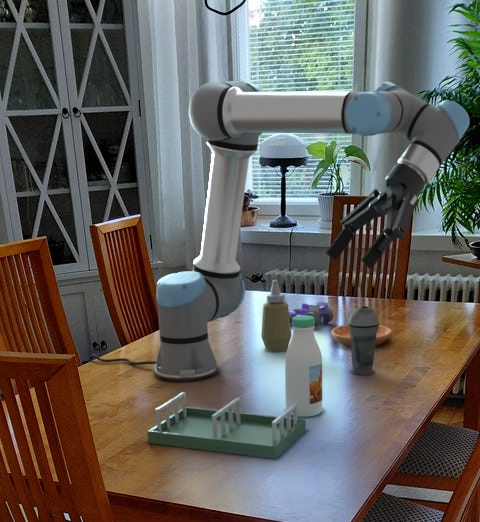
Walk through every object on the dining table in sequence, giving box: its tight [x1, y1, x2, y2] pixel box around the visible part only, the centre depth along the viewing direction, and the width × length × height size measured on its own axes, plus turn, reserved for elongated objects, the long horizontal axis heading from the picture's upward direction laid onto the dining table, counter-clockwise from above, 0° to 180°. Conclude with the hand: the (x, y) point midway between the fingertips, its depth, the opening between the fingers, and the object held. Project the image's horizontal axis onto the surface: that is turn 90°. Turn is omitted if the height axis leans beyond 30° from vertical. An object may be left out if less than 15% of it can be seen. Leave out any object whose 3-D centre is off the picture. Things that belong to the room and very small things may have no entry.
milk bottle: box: [284, 315, 323, 418], centre depth 180 cm, size 8×8×20 cm
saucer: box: [331, 323, 392, 347], centre depth 234 cm, size 16×16×3 cm
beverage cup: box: [347, 286, 380, 376], centre depth 204 cm, size 7×7×20 cm
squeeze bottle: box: [260, 279, 293, 352], centre depth 227 cm, size 8×8×18 cm
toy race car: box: [289, 301, 334, 330], centre depth 254 cm, size 10×15×6 cm, turn 54°
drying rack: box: [147, 391, 307, 460], centre depth 171 cm, size 27×16×6 cm, turn 66°
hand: (347, 260), depth 175 cm, fingers open, 13 cm apart
